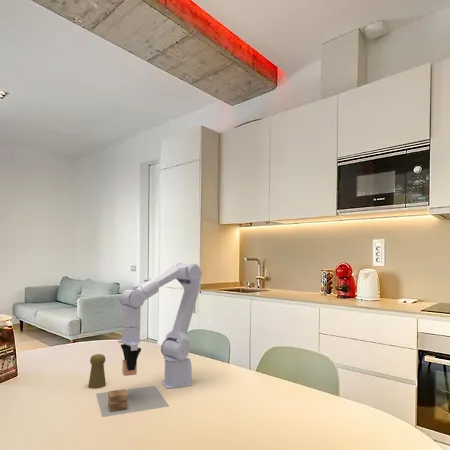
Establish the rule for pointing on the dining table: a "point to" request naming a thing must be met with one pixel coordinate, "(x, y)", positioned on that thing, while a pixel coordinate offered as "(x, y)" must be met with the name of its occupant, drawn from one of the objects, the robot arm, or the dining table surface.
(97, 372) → the olive pawn
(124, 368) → the cube
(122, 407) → the tower bottom
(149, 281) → the robot arm
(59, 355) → the dining table surface
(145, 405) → the mat
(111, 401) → the tower top
